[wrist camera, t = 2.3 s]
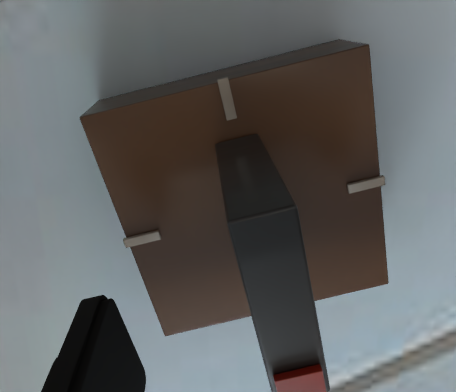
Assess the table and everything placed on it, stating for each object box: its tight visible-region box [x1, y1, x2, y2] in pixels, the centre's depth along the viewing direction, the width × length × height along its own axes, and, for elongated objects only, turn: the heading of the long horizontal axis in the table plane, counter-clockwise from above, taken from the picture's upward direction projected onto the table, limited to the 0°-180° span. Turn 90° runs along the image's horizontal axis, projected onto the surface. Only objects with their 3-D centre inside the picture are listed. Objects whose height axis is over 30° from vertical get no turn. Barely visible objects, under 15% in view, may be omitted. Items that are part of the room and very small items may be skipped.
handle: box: [215, 134, 330, 392], centre depth 13 cm, size 6×2×6 cm, turn 13°
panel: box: [80, 39, 388, 336], centre depth 17 cm, size 10×10×3 cm
